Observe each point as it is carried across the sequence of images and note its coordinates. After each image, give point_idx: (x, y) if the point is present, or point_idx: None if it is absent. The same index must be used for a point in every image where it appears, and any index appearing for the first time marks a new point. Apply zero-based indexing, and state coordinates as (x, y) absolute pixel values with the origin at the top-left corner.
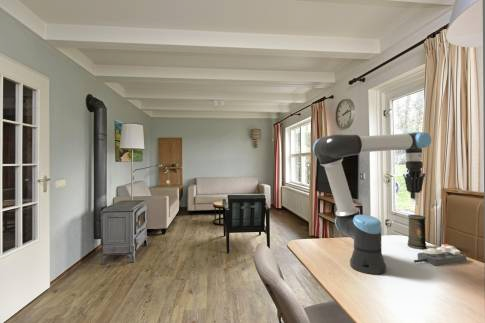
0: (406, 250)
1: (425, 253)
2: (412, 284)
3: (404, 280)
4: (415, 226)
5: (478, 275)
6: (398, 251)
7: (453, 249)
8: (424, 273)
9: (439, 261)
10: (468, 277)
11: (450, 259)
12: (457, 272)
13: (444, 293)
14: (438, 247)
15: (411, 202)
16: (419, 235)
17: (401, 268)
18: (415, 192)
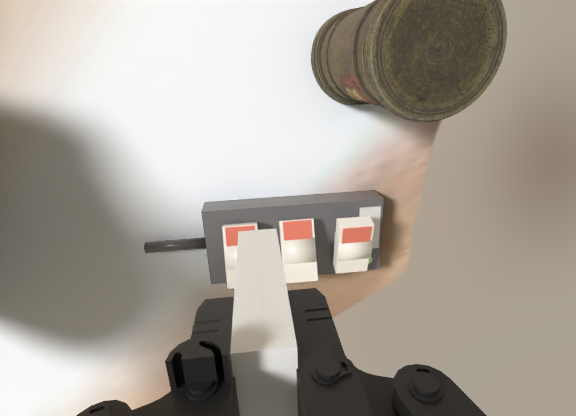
0: (248, 94)
1: (234, 221)
2: (12, 362)
3: (3, 340)
4: (356, 83)
5: None
6: (193, 97)
7: (350, 260)
8: (116, 310)
9: None
10: None
11: None
12: None
13: (71, 407)
14: (283, 255)
15: (237, 248)
16: (354, 96)
17: (59, 266)
18: (297, 393)
